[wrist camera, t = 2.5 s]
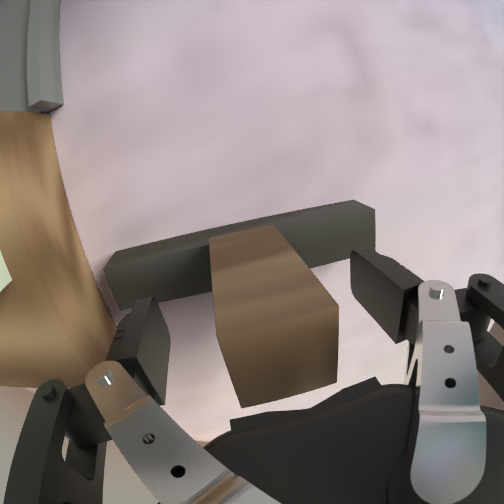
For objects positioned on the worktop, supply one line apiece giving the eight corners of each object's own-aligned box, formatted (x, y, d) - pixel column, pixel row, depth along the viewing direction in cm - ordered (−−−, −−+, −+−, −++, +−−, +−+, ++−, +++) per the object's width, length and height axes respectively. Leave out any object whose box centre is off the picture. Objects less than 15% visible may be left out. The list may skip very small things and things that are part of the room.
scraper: (114, 245, 15) (38, 361, 6) (352, 194, 16) (477, 255, 7) (131, 291, 16) (87, 422, 7) (354, 240, 17) (460, 325, 8)
